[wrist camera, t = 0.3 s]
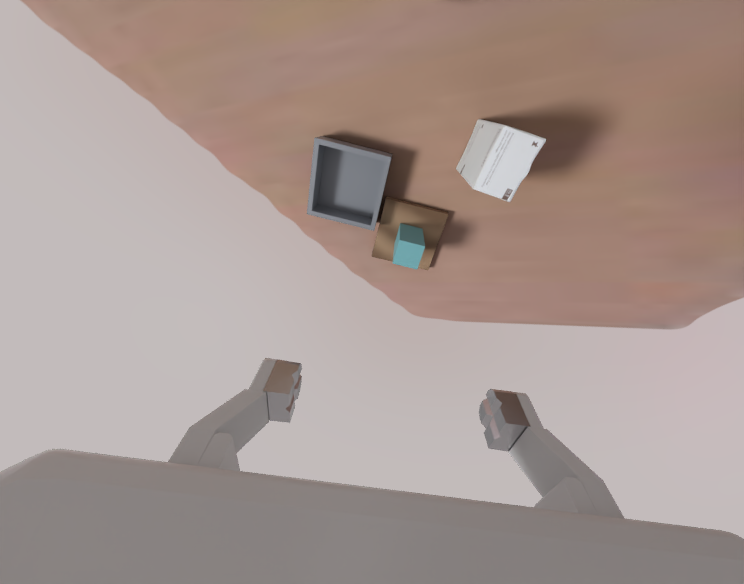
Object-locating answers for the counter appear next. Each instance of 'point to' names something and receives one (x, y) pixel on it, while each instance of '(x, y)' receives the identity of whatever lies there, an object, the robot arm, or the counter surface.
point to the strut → (408, 246)
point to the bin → (347, 182)
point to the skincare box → (498, 158)
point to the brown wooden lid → (412, 216)
